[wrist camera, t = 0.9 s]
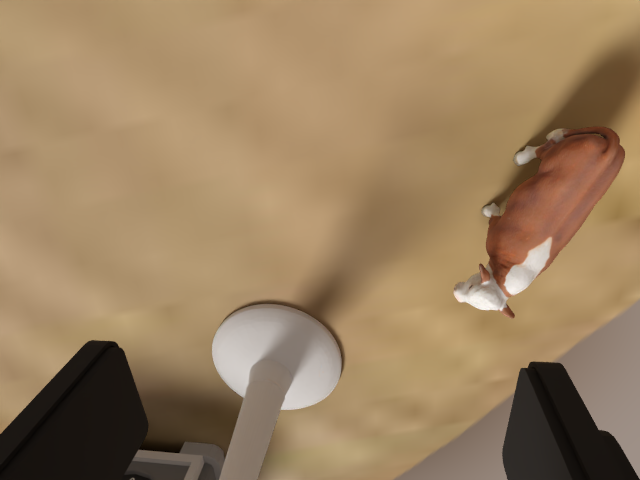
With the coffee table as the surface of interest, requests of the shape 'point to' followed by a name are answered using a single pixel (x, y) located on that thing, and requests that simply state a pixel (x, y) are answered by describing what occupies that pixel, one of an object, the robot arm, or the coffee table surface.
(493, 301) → the bull figurine
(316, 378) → the candlestick
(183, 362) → the coffee table surface
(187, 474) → the alarm clock
